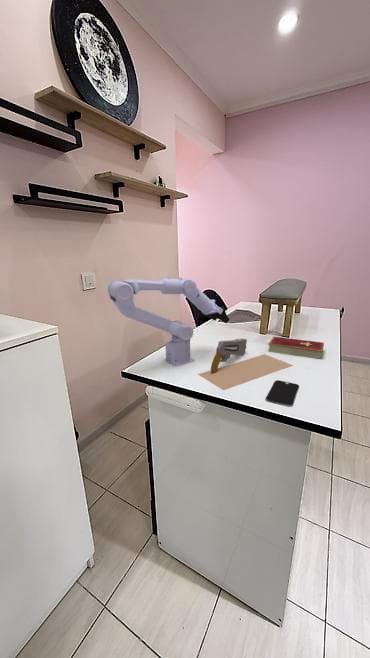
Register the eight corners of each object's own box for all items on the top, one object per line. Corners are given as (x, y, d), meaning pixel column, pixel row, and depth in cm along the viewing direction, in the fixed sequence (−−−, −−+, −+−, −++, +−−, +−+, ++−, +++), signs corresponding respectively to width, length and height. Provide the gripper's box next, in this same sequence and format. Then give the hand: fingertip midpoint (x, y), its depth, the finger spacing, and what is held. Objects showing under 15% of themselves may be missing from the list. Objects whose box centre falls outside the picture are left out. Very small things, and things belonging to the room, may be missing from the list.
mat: (223, 391, 87) (223, 389, 87) (198, 375, 99) (198, 374, 99) (292, 366, 105) (293, 365, 105) (264, 355, 116) (264, 354, 116)
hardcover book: (273, 344, 130) (273, 335, 129) (323, 350, 120) (324, 341, 119) (267, 352, 120) (268, 343, 118) (321, 360, 110) (322, 350, 109)
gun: (242, 374, 117) (249, 339, 118) (214, 373, 97) (222, 331, 98) (235, 372, 119) (242, 338, 120) (206, 371, 99) (214, 330, 100)
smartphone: (300, 384, 89) (292, 406, 77) (299, 386, 90) (292, 408, 77) (275, 379, 93) (264, 399, 81) (275, 381, 93) (264, 401, 81)
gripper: (217, 294, 104) (238, 314, 111) (196, 291, 116) (216, 310, 123) (207, 309, 103) (229, 328, 110) (187, 305, 115) (207, 323, 122)
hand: (221, 319), depth 117 cm, fingers open, 7 cm apart
